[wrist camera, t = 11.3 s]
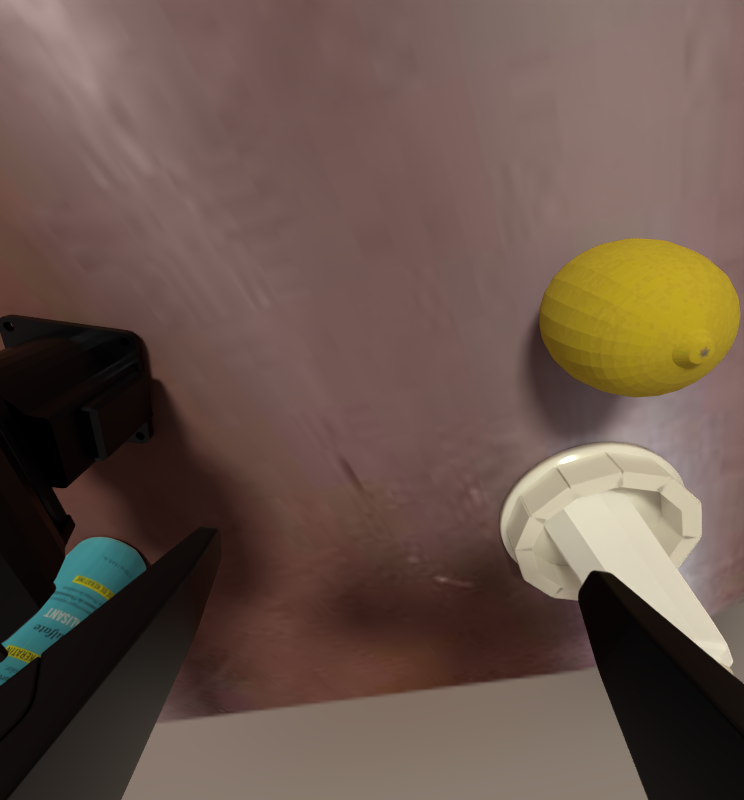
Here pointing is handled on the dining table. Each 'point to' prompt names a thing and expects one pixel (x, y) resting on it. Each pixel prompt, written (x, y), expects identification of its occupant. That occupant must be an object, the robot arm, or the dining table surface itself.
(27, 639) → the tube
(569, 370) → the lemon
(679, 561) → the ring dish
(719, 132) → the dining table surface
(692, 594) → the pepper shaker
